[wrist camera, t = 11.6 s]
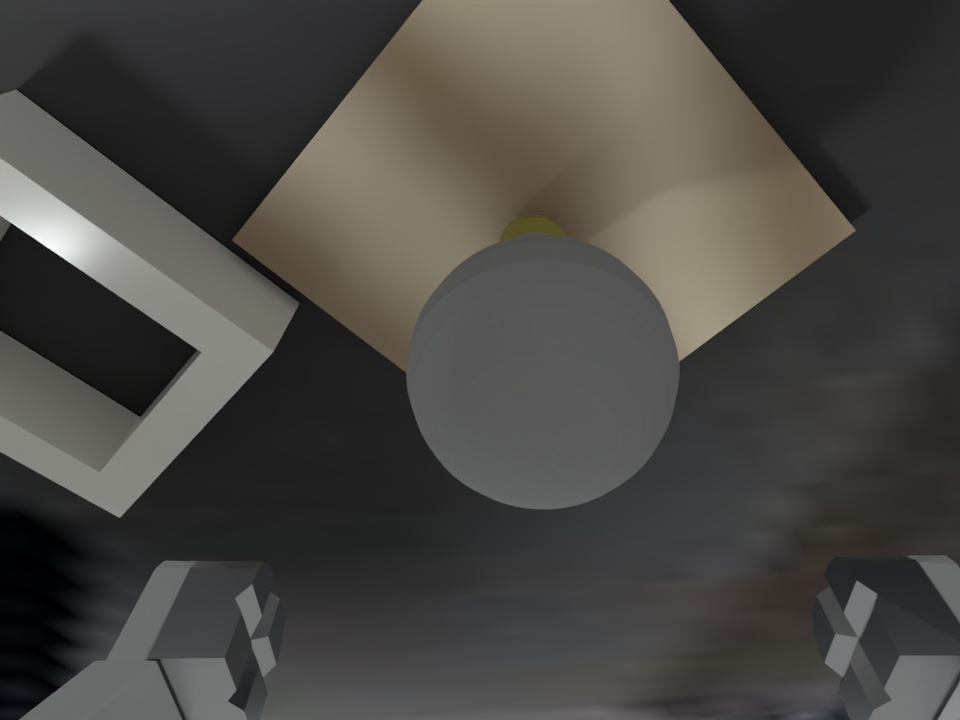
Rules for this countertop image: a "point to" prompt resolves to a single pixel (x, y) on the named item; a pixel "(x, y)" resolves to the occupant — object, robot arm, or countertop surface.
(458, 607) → the countertop surface
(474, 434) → the light bulb
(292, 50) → the countertop surface
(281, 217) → the board
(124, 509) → the socket
